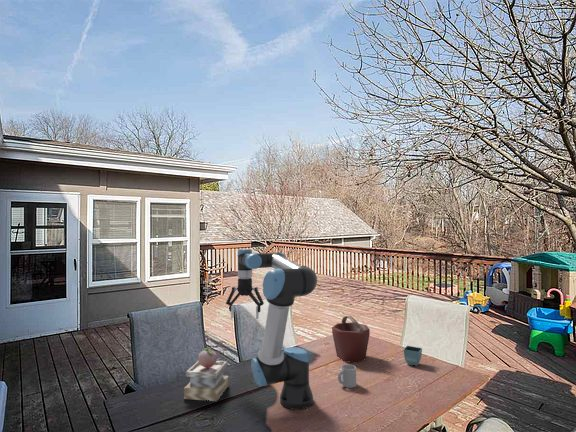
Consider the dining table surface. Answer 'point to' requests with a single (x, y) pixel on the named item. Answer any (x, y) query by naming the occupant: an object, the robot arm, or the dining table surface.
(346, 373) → the cup
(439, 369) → the dining table surface
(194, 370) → the block tower
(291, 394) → the robot arm
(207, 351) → the decorative fruit
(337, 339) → the bucket
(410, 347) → the flower pot
